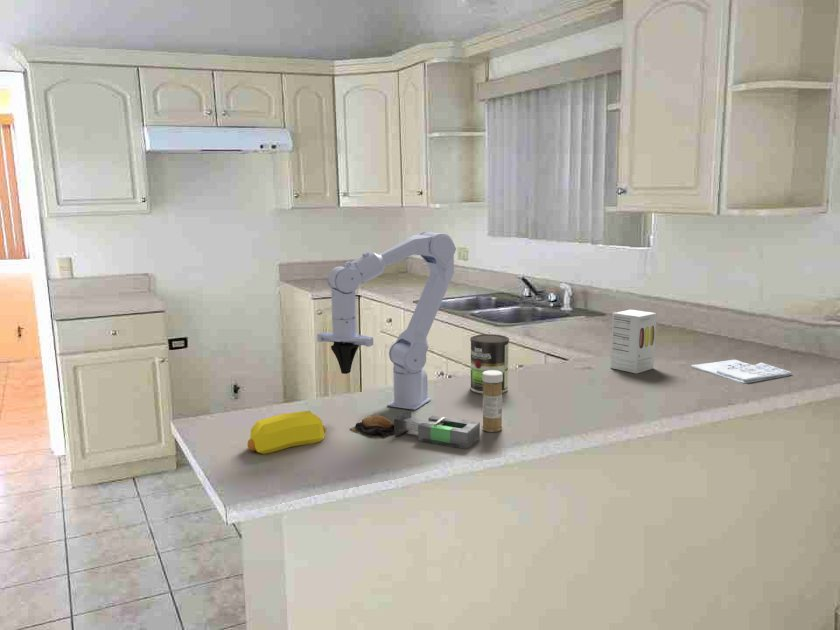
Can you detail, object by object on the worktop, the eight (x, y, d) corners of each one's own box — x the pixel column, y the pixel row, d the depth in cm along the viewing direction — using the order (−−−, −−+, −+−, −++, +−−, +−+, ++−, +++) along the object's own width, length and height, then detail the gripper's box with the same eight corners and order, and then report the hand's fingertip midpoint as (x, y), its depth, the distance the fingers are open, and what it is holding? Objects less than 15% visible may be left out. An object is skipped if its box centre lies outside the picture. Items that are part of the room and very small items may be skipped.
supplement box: (636, 374, 210) (639, 316, 207) (609, 368, 217) (611, 312, 214) (654, 368, 216) (657, 312, 213) (627, 362, 223) (629, 308, 220)
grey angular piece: (406, 426, 167) (406, 410, 167) (447, 432, 163) (447, 416, 162) (394, 434, 162) (393, 418, 161) (435, 441, 158) (435, 425, 157)
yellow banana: (333, 442, 160) (318, 432, 166) (332, 412, 159) (317, 403, 165) (254, 459, 150) (241, 448, 157) (252, 428, 149) (239, 418, 155)
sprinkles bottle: (490, 424, 169) (490, 368, 166) (506, 429, 166) (506, 371, 163) (478, 429, 166) (478, 372, 163) (494, 434, 163) (494, 376, 160)
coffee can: (493, 397, 190) (493, 344, 188) (462, 389, 197) (462, 338, 195) (516, 388, 198) (516, 337, 195) (486, 381, 205) (486, 332, 202)
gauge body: (432, 430, 165) (432, 415, 165) (479, 438, 160) (479, 422, 160) (418, 441, 159) (418, 425, 158) (467, 449, 154) (467, 432, 153)
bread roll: (347, 432, 167) (346, 417, 166) (372, 422, 173) (371, 408, 173) (381, 442, 160) (380, 426, 159) (406, 431, 166) (406, 416, 166)
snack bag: (743, 386, 199) (744, 378, 199) (688, 369, 217) (689, 361, 217) (792, 377, 207) (793, 370, 206) (736, 361, 225) (736, 354, 225)
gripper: (309, 318, 173) (311, 373, 176) (362, 322, 167) (363, 380, 169) (325, 313, 179) (327, 366, 182) (377, 317, 173) (378, 372, 175)
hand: (346, 372), depth 176 cm, fingers closed
